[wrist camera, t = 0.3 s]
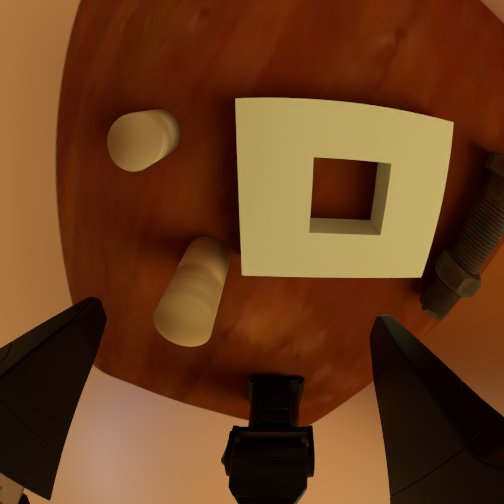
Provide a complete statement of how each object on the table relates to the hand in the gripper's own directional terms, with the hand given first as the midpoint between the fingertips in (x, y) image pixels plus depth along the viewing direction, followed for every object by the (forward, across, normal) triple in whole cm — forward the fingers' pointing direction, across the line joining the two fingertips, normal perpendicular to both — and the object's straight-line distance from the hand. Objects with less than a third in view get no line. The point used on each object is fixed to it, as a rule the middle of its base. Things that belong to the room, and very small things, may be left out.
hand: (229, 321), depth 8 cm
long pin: (+13, +4, +6) cm, 15 cm away
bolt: (+14, -18, +2) cm, 23 cm away
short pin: (+13, +7, -4) cm, 16 cm away
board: (+13, -6, -1) cm, 14 cm away
